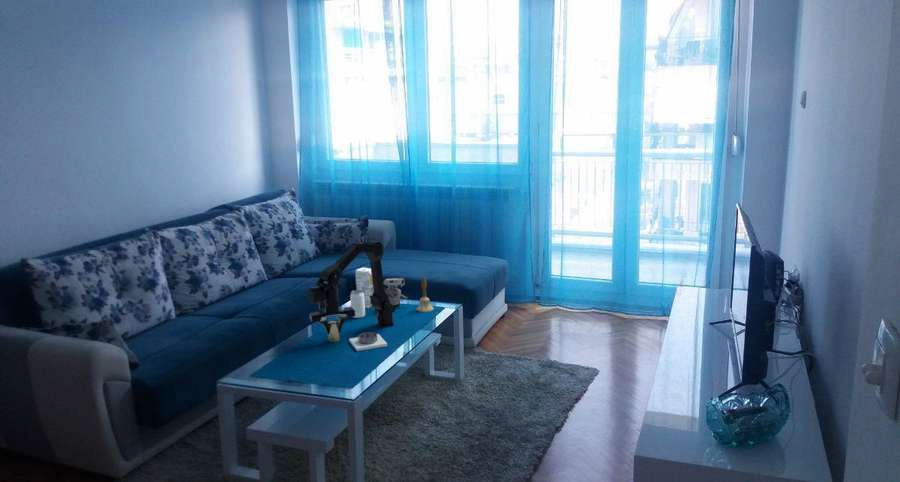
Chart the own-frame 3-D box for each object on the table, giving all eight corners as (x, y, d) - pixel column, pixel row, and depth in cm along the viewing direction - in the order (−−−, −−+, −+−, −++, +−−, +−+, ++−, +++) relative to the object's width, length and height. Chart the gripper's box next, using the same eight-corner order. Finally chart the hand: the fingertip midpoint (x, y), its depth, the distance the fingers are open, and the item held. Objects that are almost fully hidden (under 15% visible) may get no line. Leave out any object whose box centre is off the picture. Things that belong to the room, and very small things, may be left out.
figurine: (401, 311, 334) (399, 281, 331) (381, 309, 339) (379, 279, 336) (410, 306, 342) (409, 277, 339) (390, 304, 347) (389, 275, 344)
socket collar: (374, 336, 296) (373, 331, 296) (379, 342, 290) (378, 337, 289) (356, 339, 294) (356, 334, 293) (361, 345, 287) (361, 339, 286)
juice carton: (368, 309, 340) (366, 271, 336) (355, 306, 344) (353, 269, 340) (378, 305, 346) (376, 268, 342) (365, 302, 351) (363, 266, 347)
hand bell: (433, 311, 332) (431, 279, 329) (416, 312, 333) (414, 280, 329) (433, 306, 340) (432, 275, 337) (417, 307, 341) (415, 275, 337)
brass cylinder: (338, 337, 300) (336, 320, 299) (340, 341, 296) (339, 323, 295) (328, 339, 299) (326, 321, 297) (330, 342, 295) (329, 324, 293)
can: (366, 314, 332) (365, 290, 330) (363, 318, 326) (362, 293, 324) (353, 314, 333) (351, 290, 331) (350, 318, 327) (348, 293, 324)
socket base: (378, 336, 300) (378, 334, 300) (387, 346, 288) (387, 343, 288) (349, 341, 295) (349, 338, 295) (356, 351, 284) (356, 348, 283)
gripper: (348, 291, 304) (350, 324, 308) (305, 296, 298) (308, 331, 301) (354, 297, 294) (356, 332, 298) (310, 303, 288) (313, 339, 291)
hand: (333, 333), depth 297 cm, fingers closed on brass cylinder, 4 cm apart
